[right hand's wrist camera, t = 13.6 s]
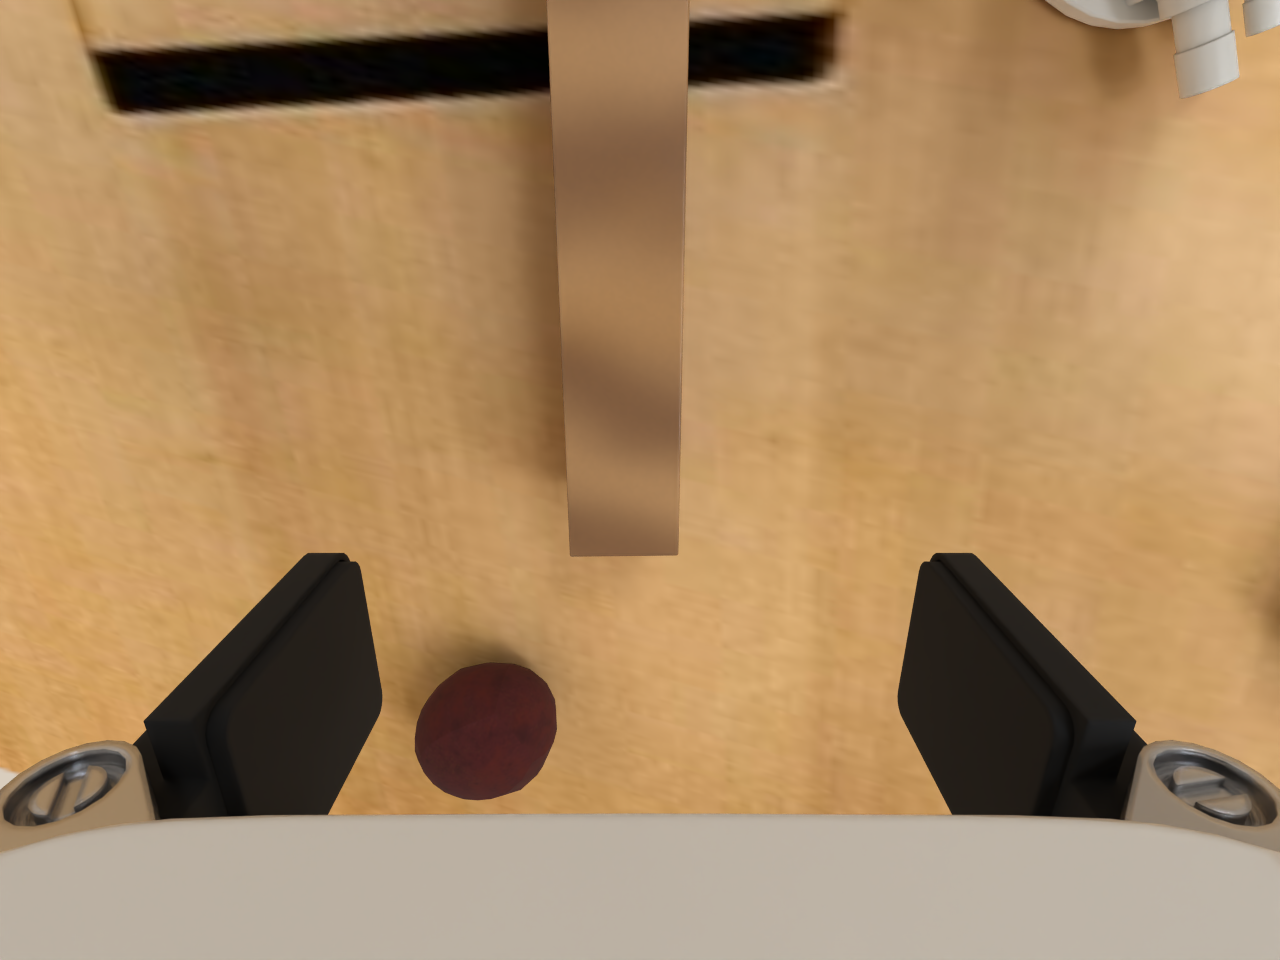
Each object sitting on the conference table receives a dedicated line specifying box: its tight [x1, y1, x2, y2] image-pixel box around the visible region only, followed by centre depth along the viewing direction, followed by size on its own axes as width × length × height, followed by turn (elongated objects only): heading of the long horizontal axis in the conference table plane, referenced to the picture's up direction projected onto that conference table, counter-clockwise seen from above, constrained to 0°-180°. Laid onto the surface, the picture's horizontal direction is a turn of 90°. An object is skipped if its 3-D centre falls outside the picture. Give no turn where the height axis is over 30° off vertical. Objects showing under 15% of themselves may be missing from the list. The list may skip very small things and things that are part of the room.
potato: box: [415, 663, 557, 800], centre depth 37 cm, size 7×8×7 cm
